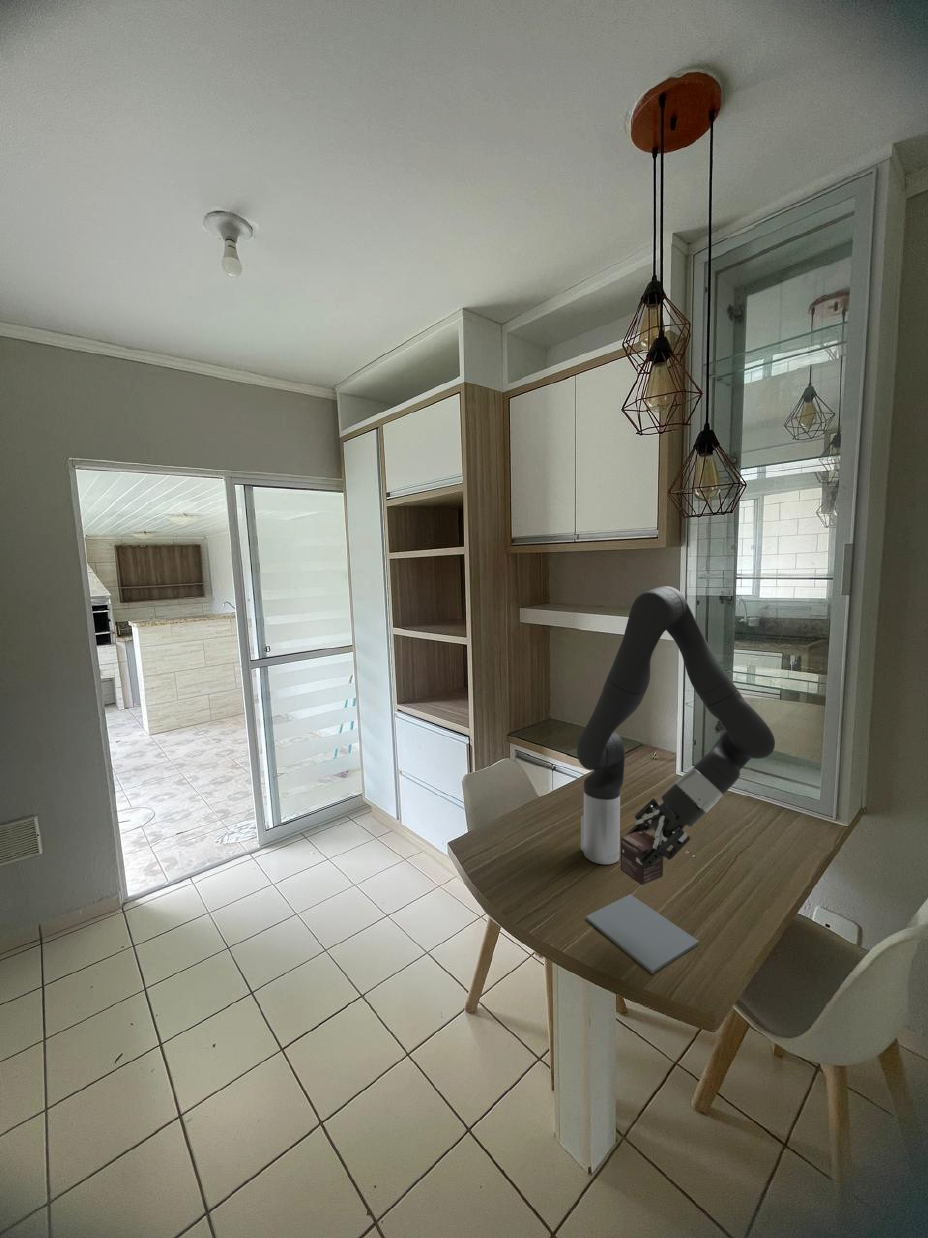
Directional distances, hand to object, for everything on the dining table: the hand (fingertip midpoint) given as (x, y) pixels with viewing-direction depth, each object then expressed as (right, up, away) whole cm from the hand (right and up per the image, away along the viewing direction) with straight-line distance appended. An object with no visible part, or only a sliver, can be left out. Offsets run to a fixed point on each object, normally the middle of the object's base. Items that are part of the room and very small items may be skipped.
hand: (635, 852), depth 98 cm
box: (+1, -5, 0) cm, 5 cm away
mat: (+2, -17, +1) cm, 17 cm away
